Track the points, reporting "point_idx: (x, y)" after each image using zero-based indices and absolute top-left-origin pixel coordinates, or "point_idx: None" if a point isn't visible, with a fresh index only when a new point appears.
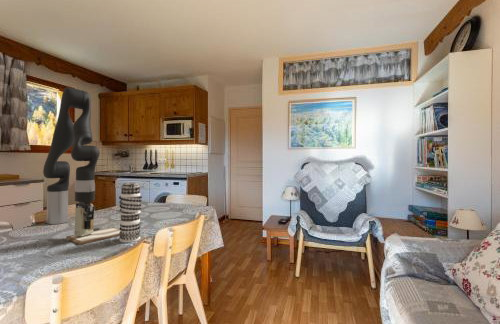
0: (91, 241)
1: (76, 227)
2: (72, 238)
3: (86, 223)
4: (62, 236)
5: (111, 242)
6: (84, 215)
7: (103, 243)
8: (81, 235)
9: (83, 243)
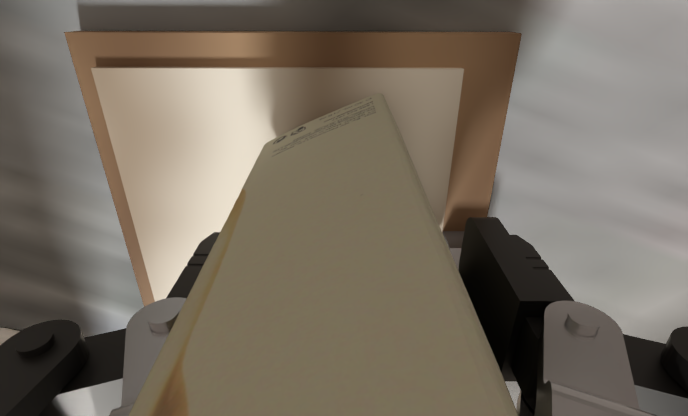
0: (109, 166)
1: (352, 143)
2: (354, 55)
3: (191, 282)
4: (643, 30)
5: (5, 275)
6: (115, 410)
7: (10, 222)
8: (269, 142)
9: (88, 81)
